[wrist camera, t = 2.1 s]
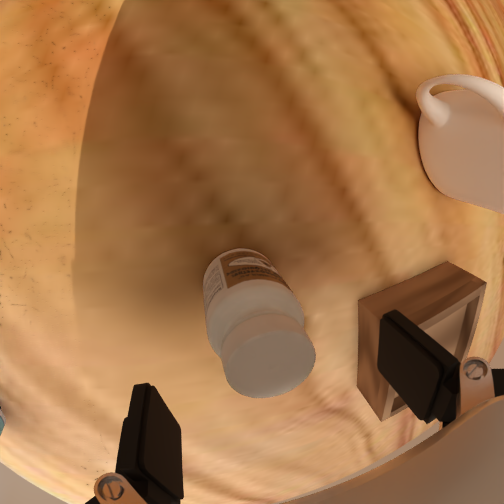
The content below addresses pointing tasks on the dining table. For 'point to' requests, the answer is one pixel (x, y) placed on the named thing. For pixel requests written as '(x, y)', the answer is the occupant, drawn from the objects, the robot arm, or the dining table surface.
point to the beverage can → (2, 420)
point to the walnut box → (418, 324)
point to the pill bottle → (255, 325)
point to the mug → (464, 139)
